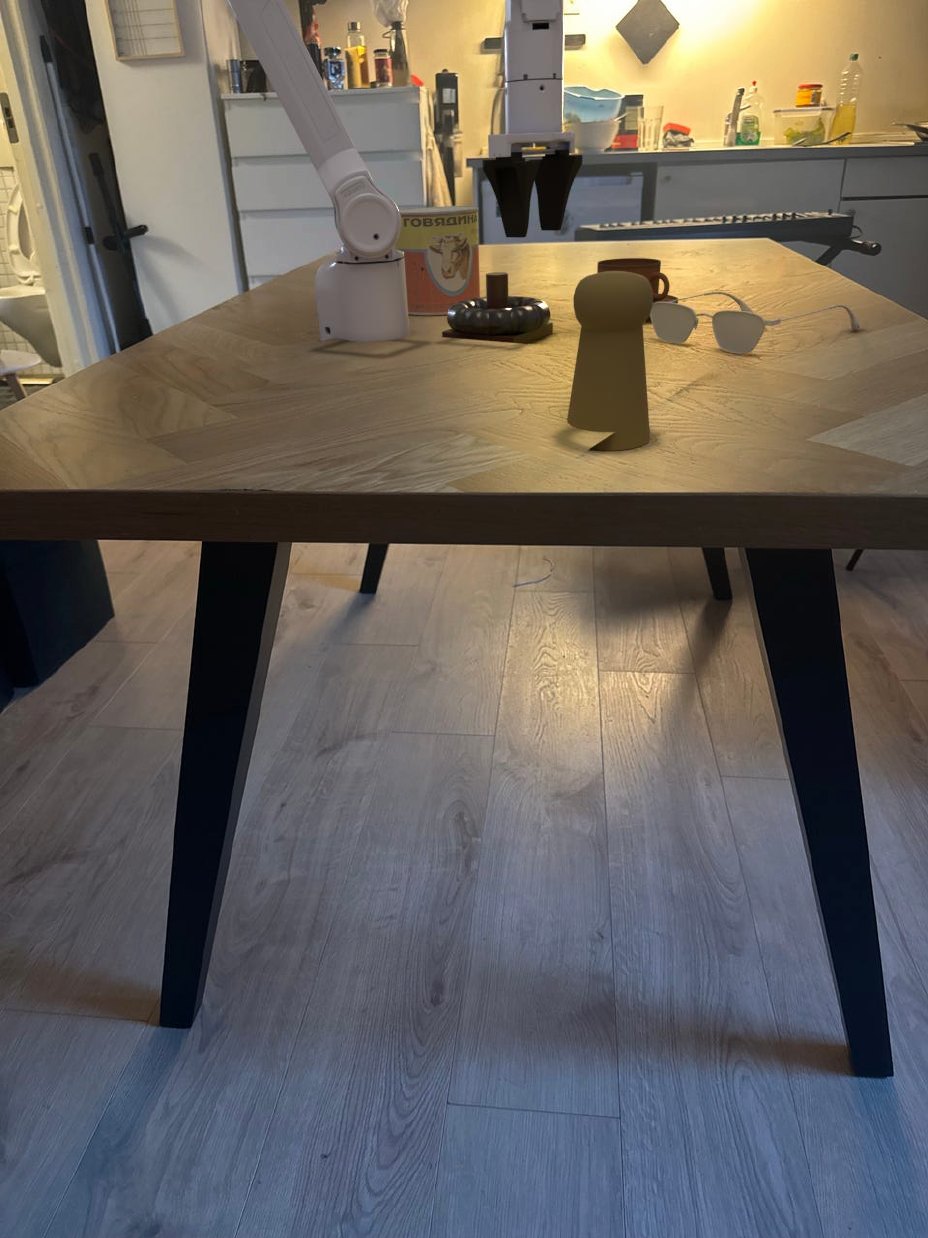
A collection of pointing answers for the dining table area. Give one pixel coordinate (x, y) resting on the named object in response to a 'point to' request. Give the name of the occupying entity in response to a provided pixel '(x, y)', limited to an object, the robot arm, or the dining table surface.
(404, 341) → the dining table surface
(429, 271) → the canned food
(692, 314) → the eyeglasses
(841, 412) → the dining table surface
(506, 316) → the ring
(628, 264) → the cup and saucer
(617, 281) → the cork
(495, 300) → the stand
